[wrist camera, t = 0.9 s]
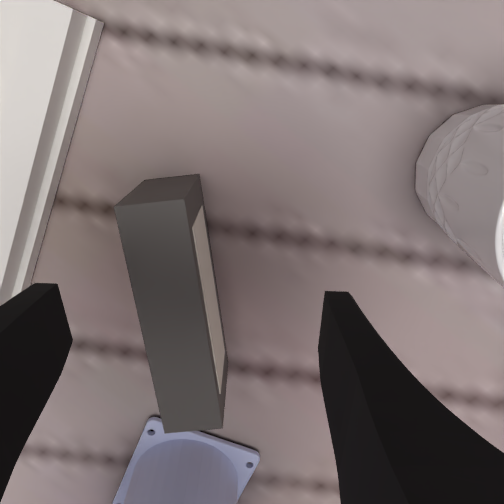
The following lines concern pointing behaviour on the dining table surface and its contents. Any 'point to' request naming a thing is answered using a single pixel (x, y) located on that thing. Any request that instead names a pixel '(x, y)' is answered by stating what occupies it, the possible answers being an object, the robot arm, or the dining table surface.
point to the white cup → (467, 184)
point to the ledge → (36, 121)
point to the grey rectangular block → (176, 299)
